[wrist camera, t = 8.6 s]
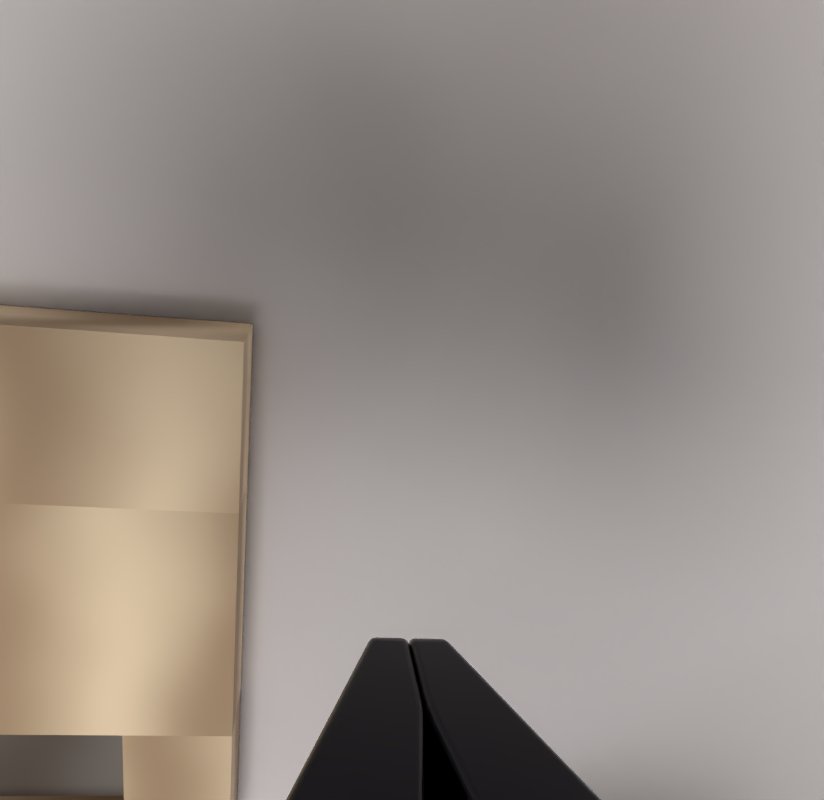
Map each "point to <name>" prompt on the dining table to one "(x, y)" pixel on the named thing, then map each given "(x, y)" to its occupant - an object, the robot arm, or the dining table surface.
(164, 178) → the dining table surface
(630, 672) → the dining table surface
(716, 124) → the dining table surface
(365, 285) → the dining table surface
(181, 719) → the trap box
